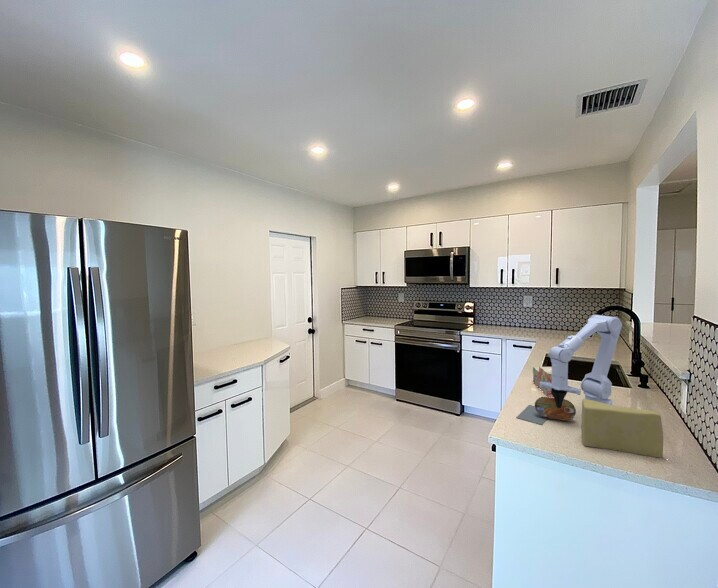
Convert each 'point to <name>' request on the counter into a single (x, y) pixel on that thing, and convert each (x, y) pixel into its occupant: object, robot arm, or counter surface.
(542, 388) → the printed cardboard box
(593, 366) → the robot arm
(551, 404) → the tin
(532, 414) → the mat
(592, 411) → the cheese
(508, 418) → the counter surface
